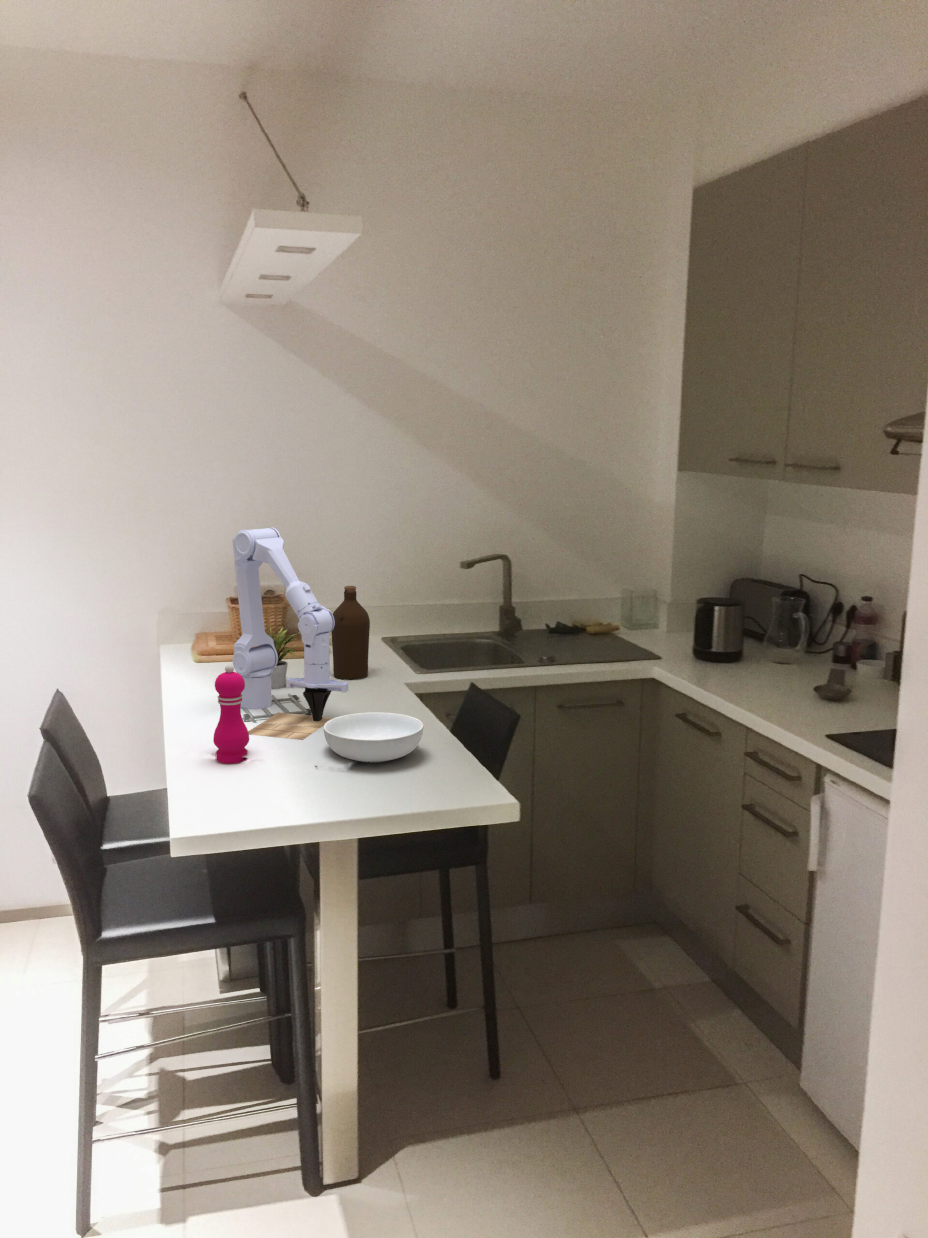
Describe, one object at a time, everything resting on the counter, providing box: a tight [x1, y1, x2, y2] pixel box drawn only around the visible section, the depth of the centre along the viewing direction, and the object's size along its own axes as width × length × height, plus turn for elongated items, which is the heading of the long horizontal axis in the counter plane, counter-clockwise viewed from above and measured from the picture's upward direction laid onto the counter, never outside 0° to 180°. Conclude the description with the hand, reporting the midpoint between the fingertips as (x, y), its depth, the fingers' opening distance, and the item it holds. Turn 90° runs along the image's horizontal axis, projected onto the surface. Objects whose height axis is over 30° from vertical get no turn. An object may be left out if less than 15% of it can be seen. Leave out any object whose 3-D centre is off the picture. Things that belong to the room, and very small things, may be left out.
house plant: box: [265, 625, 300, 690], centre depth 265 cm, size 14×14×16 cm
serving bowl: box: [323, 711, 425, 764], centre depth 212 cm, size 21×21×7 cm
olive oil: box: [330, 585, 371, 681], centre depth 278 cm, size 11×11×25 cm
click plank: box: [262, 712, 334, 729], centre depth 233 cm, size 14×8×1 cm, turn 75°
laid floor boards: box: [248, 722, 320, 741], centre depth 225 cm, size 14×9×1 cm, turn 75°
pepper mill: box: [212, 664, 250, 765], centre depth 207 cm, size 7×7×20 cm
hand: (317, 719), depth 233 cm, fingers closed
